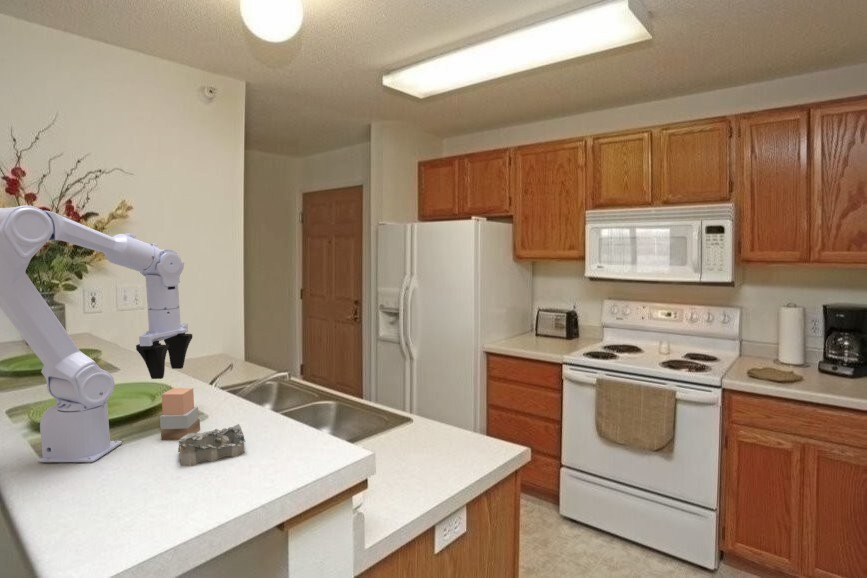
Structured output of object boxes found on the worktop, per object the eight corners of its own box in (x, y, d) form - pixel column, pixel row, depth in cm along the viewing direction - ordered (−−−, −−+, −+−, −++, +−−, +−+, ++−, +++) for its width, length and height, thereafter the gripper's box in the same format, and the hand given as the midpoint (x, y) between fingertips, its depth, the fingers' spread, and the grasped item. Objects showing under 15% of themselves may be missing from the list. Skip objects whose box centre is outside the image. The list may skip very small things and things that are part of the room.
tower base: (161, 441, 93) (160, 428, 92) (175, 431, 98) (174, 419, 97) (187, 441, 93) (187, 428, 92) (200, 431, 98) (199, 418, 97)
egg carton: (178, 470, 81) (176, 446, 81) (179, 452, 88) (177, 430, 87) (246, 457, 86) (245, 434, 85) (242, 441, 92) (241, 420, 92)
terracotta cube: (162, 414, 93) (161, 394, 92) (174, 407, 97) (173, 388, 96) (183, 414, 93) (182, 394, 92) (194, 407, 97) (193, 388, 96)
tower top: (160, 429, 92) (159, 416, 92) (172, 419, 97) (172, 407, 97) (188, 428, 93) (187, 415, 92) (198, 418, 98) (198, 406, 97)
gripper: (163, 313, 92) (168, 383, 94) (200, 303, 107) (203, 364, 108) (126, 313, 92) (131, 383, 94) (168, 303, 107) (171, 364, 108)
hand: (167, 373), depth 101 cm, fingers open, 7 cm apart
